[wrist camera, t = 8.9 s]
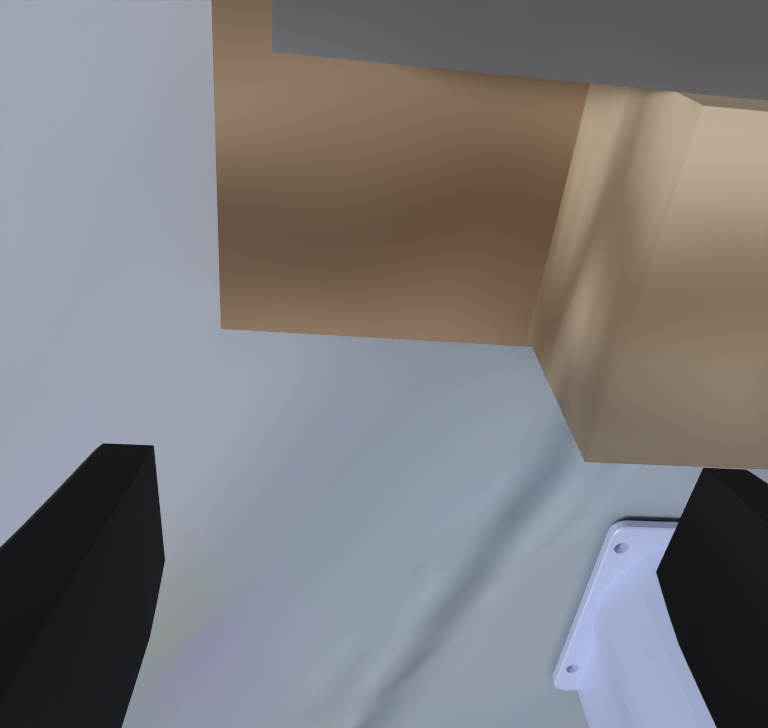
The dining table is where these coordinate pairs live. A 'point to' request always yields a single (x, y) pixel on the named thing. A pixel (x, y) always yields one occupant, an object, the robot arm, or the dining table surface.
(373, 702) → the dining table surface
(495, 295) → the board
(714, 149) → the scraper
